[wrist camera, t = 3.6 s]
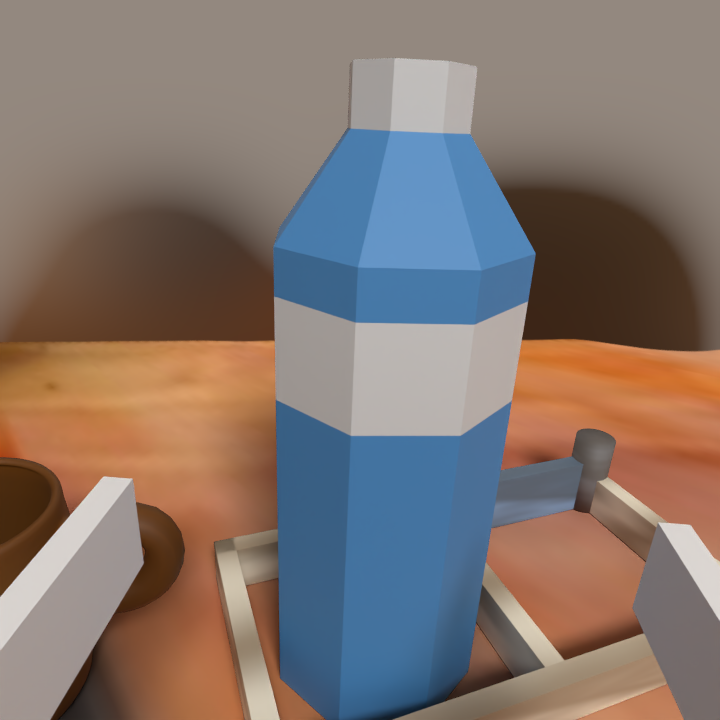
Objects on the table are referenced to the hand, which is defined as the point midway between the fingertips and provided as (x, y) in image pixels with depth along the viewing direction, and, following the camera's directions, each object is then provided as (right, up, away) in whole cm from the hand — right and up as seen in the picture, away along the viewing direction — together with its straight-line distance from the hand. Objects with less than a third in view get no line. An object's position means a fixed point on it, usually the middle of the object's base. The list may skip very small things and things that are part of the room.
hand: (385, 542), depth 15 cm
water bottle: (0, -9, +13) cm, 16 cm away
